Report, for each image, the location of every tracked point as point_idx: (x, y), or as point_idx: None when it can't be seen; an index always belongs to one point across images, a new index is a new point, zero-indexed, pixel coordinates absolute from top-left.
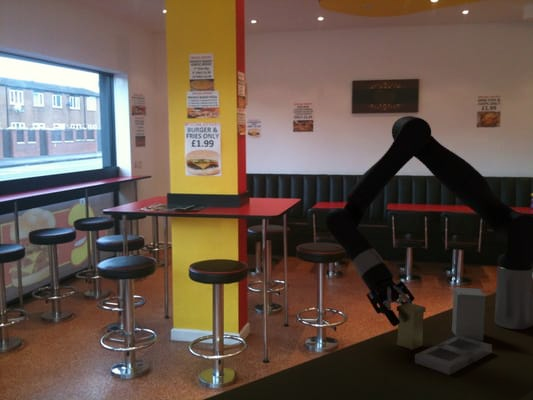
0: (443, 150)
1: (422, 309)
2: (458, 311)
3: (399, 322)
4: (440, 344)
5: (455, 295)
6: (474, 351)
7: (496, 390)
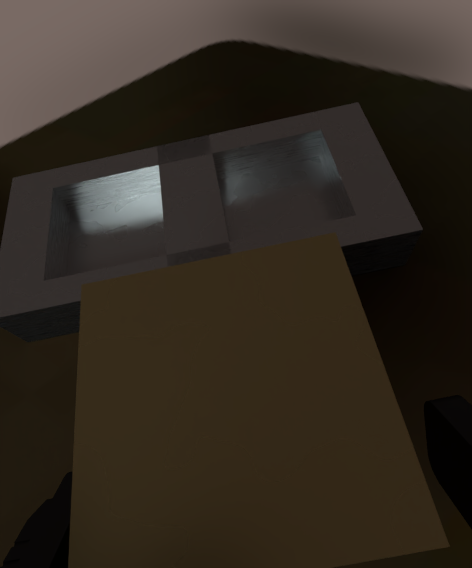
0: None
1: (156, 279)
2: None
3: (432, 400)
4: None
5: None
6: (138, 159)
7: (273, 66)
